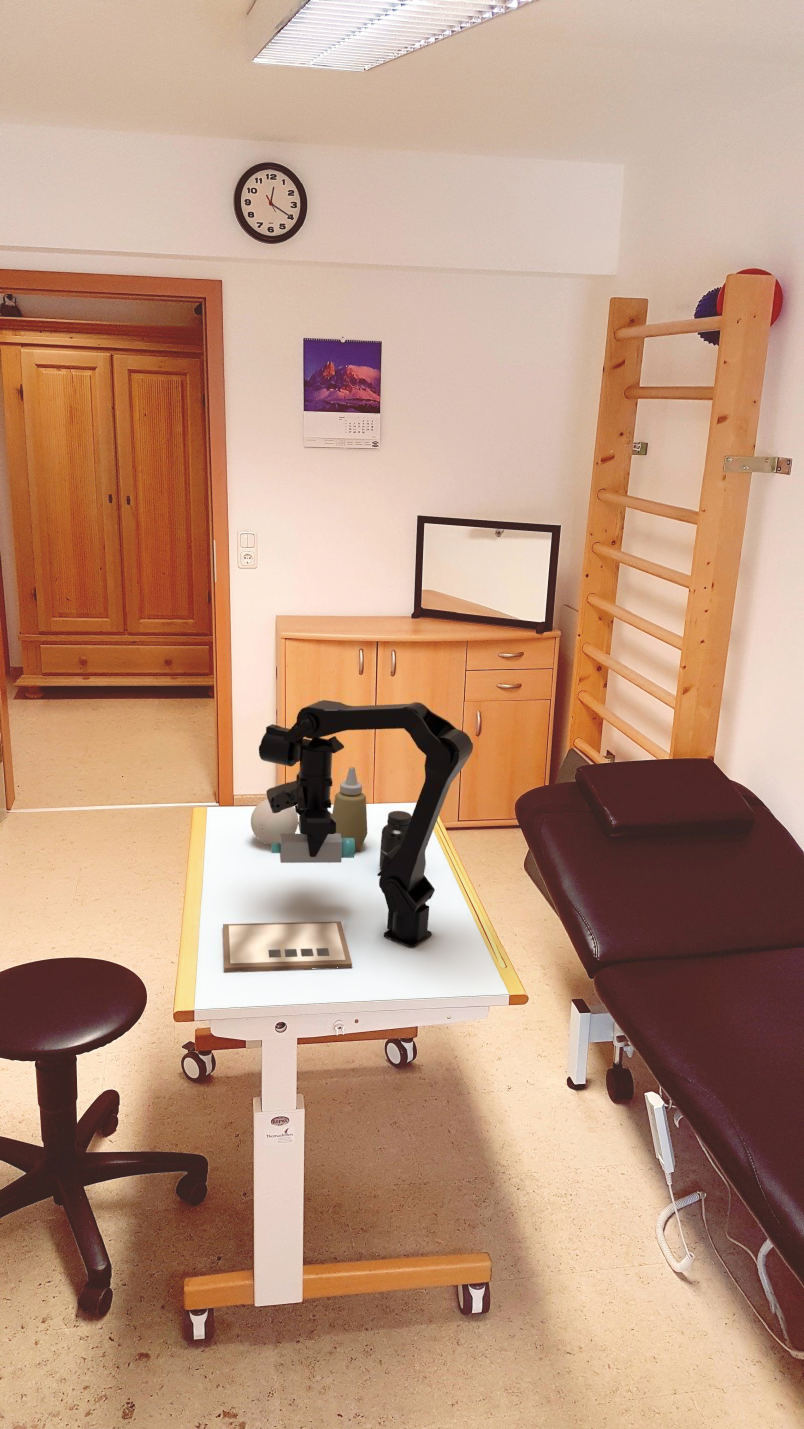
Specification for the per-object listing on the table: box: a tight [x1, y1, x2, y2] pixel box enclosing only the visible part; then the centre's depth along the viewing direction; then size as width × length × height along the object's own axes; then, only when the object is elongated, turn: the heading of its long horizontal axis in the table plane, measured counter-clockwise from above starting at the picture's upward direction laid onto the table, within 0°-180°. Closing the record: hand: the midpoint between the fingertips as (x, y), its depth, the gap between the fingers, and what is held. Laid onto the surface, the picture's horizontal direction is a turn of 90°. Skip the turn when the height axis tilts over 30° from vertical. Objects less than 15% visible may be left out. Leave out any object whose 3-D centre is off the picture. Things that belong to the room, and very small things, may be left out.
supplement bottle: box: [378, 810, 412, 870], centre depth 207 cm, size 7×7×12 cm
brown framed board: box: [222, 920, 353, 973], centre depth 174 cm, size 21×15×1 cm
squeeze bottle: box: [331, 766, 368, 852], centre depth 215 cm, size 8×8×18 cm
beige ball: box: [250, 798, 299, 845], centre depth 216 cm, size 10×10×10 cm
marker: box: [270, 833, 356, 864], centre depth 186 cm, size 15×4×4 cm, turn 99°
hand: (311, 851), depth 186 cm, fingers closed on marker, 4 cm apart
